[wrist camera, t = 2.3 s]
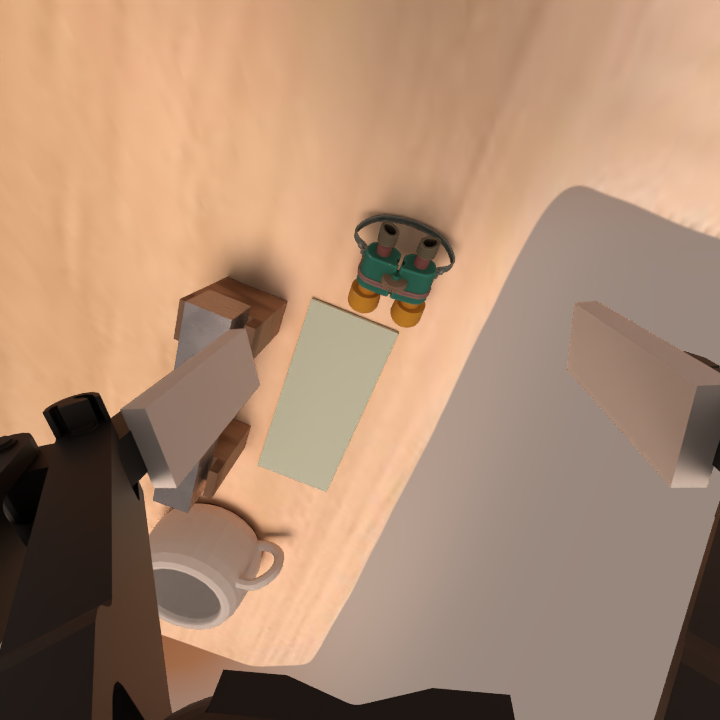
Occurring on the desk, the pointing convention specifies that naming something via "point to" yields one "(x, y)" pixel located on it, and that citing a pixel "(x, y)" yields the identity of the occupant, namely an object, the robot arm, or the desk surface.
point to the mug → (206, 565)
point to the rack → (260, 333)
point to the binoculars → (396, 271)
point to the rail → (198, 329)
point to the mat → (325, 393)
